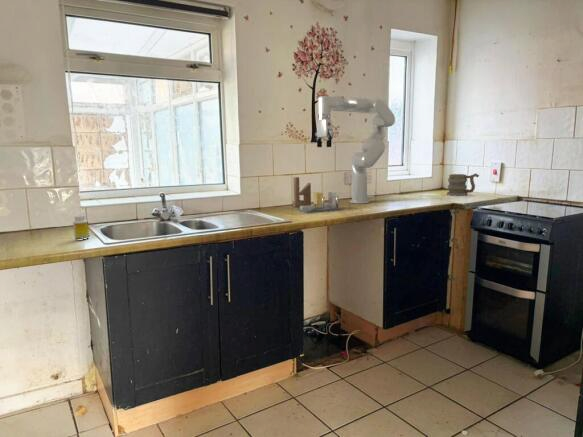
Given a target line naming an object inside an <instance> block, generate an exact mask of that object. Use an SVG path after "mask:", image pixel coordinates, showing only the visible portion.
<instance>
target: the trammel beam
mask: <svg viewBox="0 0 583 437" xmlns="http://www.w3.org/2000/svg"><path fill="white" fill-rule="evenodd" d="M327 193H328V195H327V196H328V197H327V198H328V199H327V200H328V201H327V202H328V203H324V207H334V206H336V207H339V197H340V196H339V195H336V194H337V193H336V192H334V191H328V192H327ZM299 208H300V209H313V208H316V205H314V204H311V205H305V206H300V207H299ZM320 208H322V207H320Z"/></svg>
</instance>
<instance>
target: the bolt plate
mask: <svg viewBox="0 0 583 437" xmlns="http://www.w3.org/2000/svg"><path fill="white" fill-rule="evenodd" d="M296 211H299V212H301V213H305V214H311V213H314V214H315V213H321V212H322V213H323V212H332V211H342V207H340V206H338V207H336V205H334V207H324V208H313V209H300V207H296Z"/></svg>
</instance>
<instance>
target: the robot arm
mask: <svg viewBox="0 0 583 437" xmlns="http://www.w3.org/2000/svg"><path fill="white" fill-rule="evenodd" d="M332 112H345V113H346V112H347V113H357V114H359V113H360V114H371V115H372V114H375V115H374V116H373V117H372V122H371V123H372V124H371V125H372V132H371V133H370V134H369V136H368V137H367V139H366V140H365V141H364V142H363V144H362V146H361V151H358V152H357V151H356V152H354V153H352V155H351V157H350V168H351V199H350V200H349V203H350V204H368V203H370V200H371V199H374V195H369V194H368V172H367V169H369V168H370V169H371V168H372V167H373V166H375V164H376V163H377V162H378V160H379V159H380V158H381V156H383V154H384V152H385V150H386V144H385V142H384V139H385V137H386V130H385V128H389V127H392V126H393V125H395V122H396V118H395V114H394V113H393V112H392V110H391V108H389V106H388V104H386V102H385V101H384V100H383V99H381V98H373V99H368V98H360V97H351V98H350V97H349V98H343V97H342V96H340V95H335V96H329V95H321V96H318V98H317V126H316V127H317V128H316V132H315V133H314V135H315V139H316V147H317V148H322V147H323V140H322V139H323V138H326V139H327V140H326V148H331V147H332V141H333V138H334V131H333V122H332V118H331V115H332Z"/></svg>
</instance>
